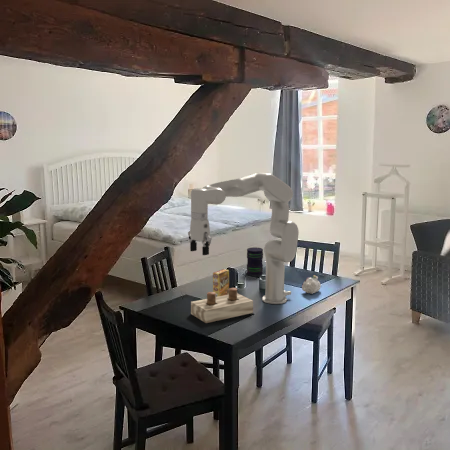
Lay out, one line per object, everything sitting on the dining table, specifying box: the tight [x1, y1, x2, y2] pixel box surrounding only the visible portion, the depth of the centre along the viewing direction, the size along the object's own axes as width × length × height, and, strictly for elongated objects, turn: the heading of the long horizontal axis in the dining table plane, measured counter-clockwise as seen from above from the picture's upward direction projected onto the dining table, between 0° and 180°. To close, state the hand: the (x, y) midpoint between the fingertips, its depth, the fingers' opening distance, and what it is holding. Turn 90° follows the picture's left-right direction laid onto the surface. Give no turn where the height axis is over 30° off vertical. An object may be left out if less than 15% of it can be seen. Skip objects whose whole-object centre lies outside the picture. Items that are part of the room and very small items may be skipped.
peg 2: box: [229, 287, 238, 301], centre depth 247 cm, size 4×4×6 cm
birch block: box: [190, 292, 254, 324], centre depth 245 cm, size 14×26×6 cm, turn 122°
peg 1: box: [206, 291, 216, 306], centre depth 241 cm, size 4×4×6 cm
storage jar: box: [246, 246, 264, 276], centre depth 315 cm, size 10×10×15 cm
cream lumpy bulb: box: [301, 274, 322, 295], centre depth 277 cm, size 10×8×15 cm
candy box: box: [212, 268, 230, 297], centre depth 264 cm, size 9×4×15 cm, turn 144°
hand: (199, 252), depth 236 cm, fingers open, 9 cm apart
